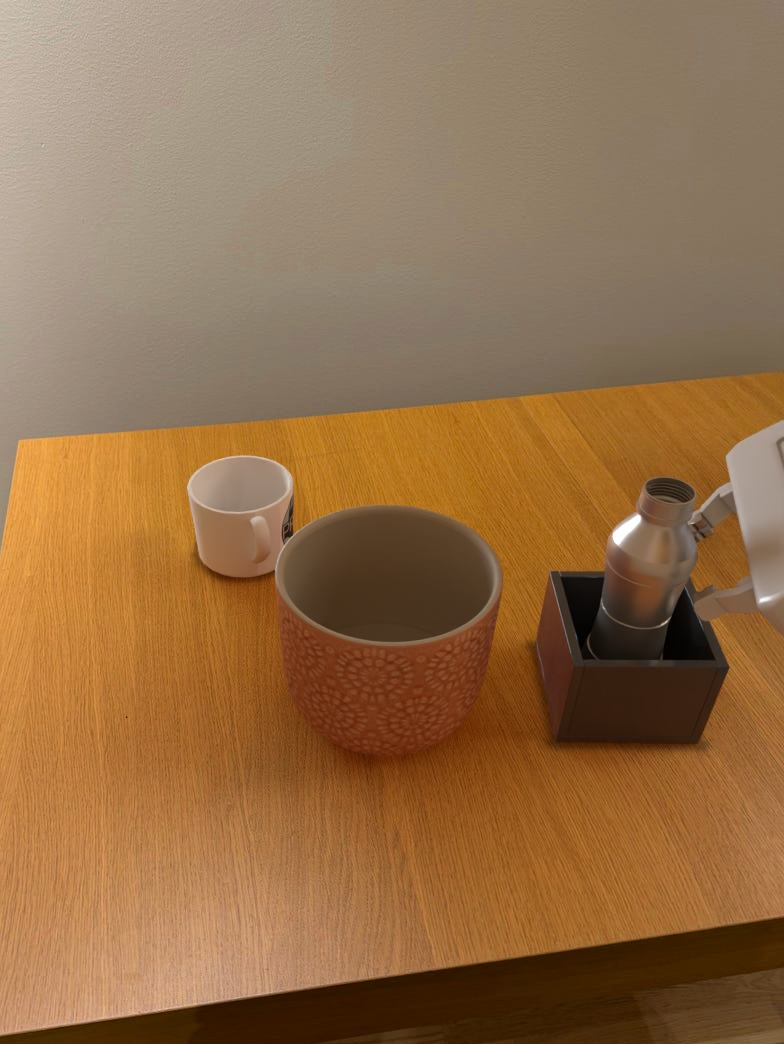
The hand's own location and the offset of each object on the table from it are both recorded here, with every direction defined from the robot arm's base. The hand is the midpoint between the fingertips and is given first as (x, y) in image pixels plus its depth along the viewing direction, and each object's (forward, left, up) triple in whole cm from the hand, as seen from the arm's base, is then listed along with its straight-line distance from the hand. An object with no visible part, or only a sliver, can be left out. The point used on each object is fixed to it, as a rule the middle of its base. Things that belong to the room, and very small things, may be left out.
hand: (691, 569), depth 70 cm
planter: (+23, +2, -14) cm, 27 cm away
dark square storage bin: (+3, 0, -14) cm, 14 cm away
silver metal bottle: (+3, 0, -13) cm, 14 cm away
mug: (+36, -19, -14) cm, 43 cm away
